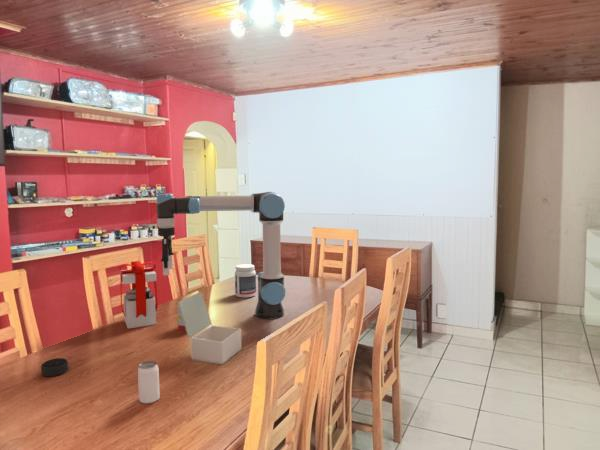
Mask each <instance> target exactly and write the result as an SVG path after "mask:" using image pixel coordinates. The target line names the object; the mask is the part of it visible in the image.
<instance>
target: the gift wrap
mask: <svg viewBox="0 0 600 450" xmlns="http://www.w3.org/2000/svg"><path fill="white" fill-rule="evenodd" d="M148 264H152V265H153V266H152V267H145V265H148ZM126 266H130V267H131V268H130V269H122V268H123V267H126ZM156 268H157V265H156V264H155V262H154V261H153V262H152V261H145V262H143V263H141V261H140V260H137V261H131V263H124V264H123V263H122V264H121V265H119V267H118V269H119V274H120V276H119V277H120V307H121V311H122V314H123V315H124V317H123V318H124V322H125V326H126V327H127V329H133V328H140V327H141V328H142V327H147V326H153V325H157V314H156V312H157V310H158V291H157V281H158V280H157V279H158V278H157V273H156ZM147 282H149V283H150V282H153V283H154V293H155V296H154V295H153V292H152V290H151V289H150V288H148V286H147V285H146V283H147ZM130 284H131V289H130V290H128V291H127V290H126V291H125V294H124V295H123V285H130ZM122 296H123V297H122Z"/></svg>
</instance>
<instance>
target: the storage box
mask: <svg viewBox="0 0 600 450" xmlns="http://www.w3.org/2000/svg"><path fill="white" fill-rule="evenodd" d="M190 343H191V344H190V345H191V346H190V351H191V360H192V361H197V362H203V363H208V364H209V363H210V364H216V365H225V364H226V363H227V362H229V360H231V359H232V358H233V357H234V356H235V355H237V354H238V353H239V352H240V351H241V349H242V329H241V328H238V327H237V328H235V327H229V326H222V325H221V326H220V325H214V324H211V325H210V326H208V327H207V328H205V329H203V330H202V331H200V332H198V333H197V334H195V335H193V336H192V337H190ZM231 357H232V358H231ZM225 362H226V363H225Z"/></svg>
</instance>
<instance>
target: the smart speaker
mask: <svg viewBox="0 0 600 450" xmlns="http://www.w3.org/2000/svg"><path fill="white" fill-rule="evenodd" d="M40 370H41V371H40V372H41V375H42V376H44V377H56V376H60V375H63V374H64V373H66V372H67V371H68V370H69V361H68V360H67V359H66V358H61V357H59V358H58V357H57V358H56V357H55V358H52V359H48V360H46V361H44V362H42V364H41V366H40Z"/></svg>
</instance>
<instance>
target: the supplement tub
mask: <svg viewBox="0 0 600 450" xmlns="http://www.w3.org/2000/svg"><path fill="white" fill-rule="evenodd" d="M234 292H235V293H234V294H235V296H236V297H238V298H247V299H248V298H251V297H255V296H256V294H257V271H256V270H255V265H254V264H249V263H242V264H241V263H240V264H237V265H235V271H234Z"/></svg>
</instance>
